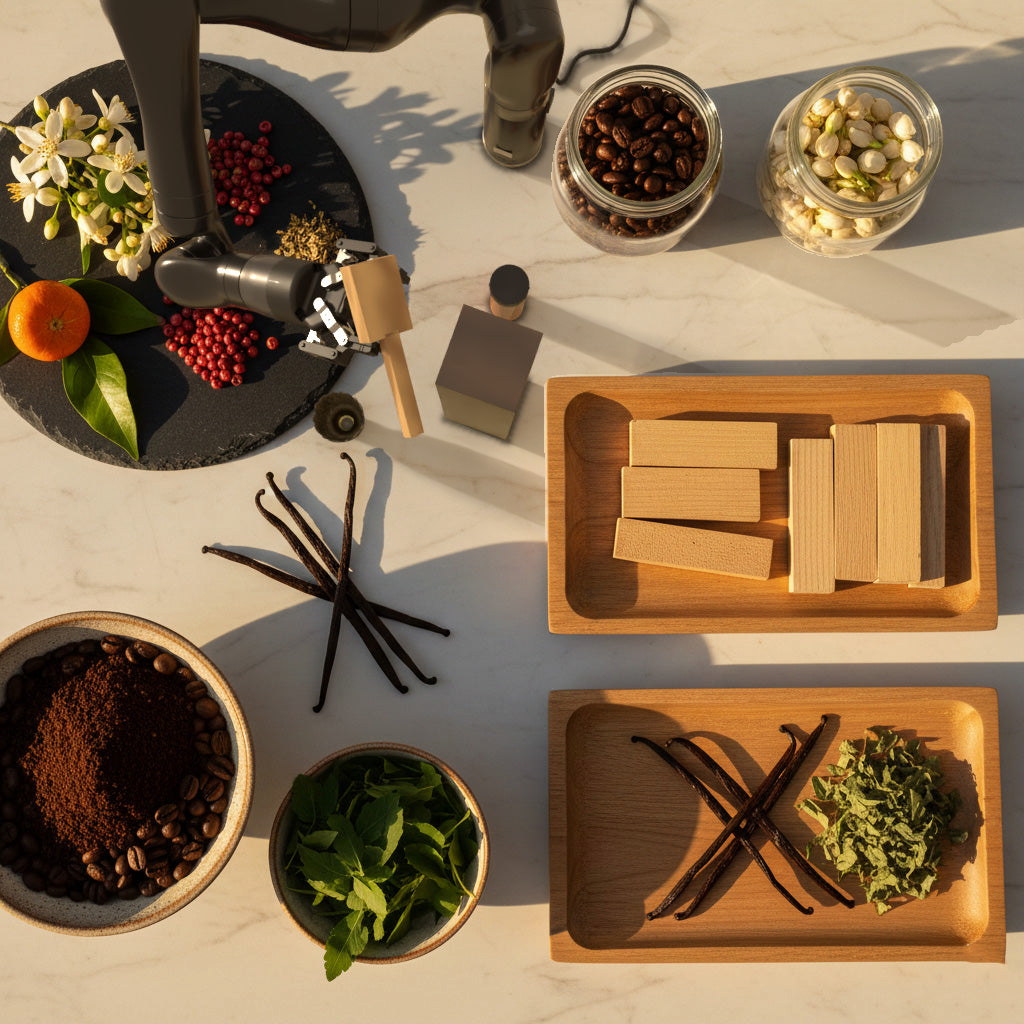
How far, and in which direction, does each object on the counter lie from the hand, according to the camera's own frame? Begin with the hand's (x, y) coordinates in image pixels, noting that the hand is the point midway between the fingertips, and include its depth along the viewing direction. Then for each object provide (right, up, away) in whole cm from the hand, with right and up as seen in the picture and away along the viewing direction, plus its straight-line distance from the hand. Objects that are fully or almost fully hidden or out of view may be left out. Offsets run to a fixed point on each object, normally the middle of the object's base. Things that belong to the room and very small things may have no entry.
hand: (393, 312), depth 88 cm
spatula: (0, -4, 0) cm, 4 cm away
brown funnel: (-12, -8, +36) cm, 39 cm away
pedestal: (+9, -4, +37) cm, 38 cm away
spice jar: (+12, +10, +37) cm, 41 cm away
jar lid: (+13, +11, +27) cm, 32 cm away
